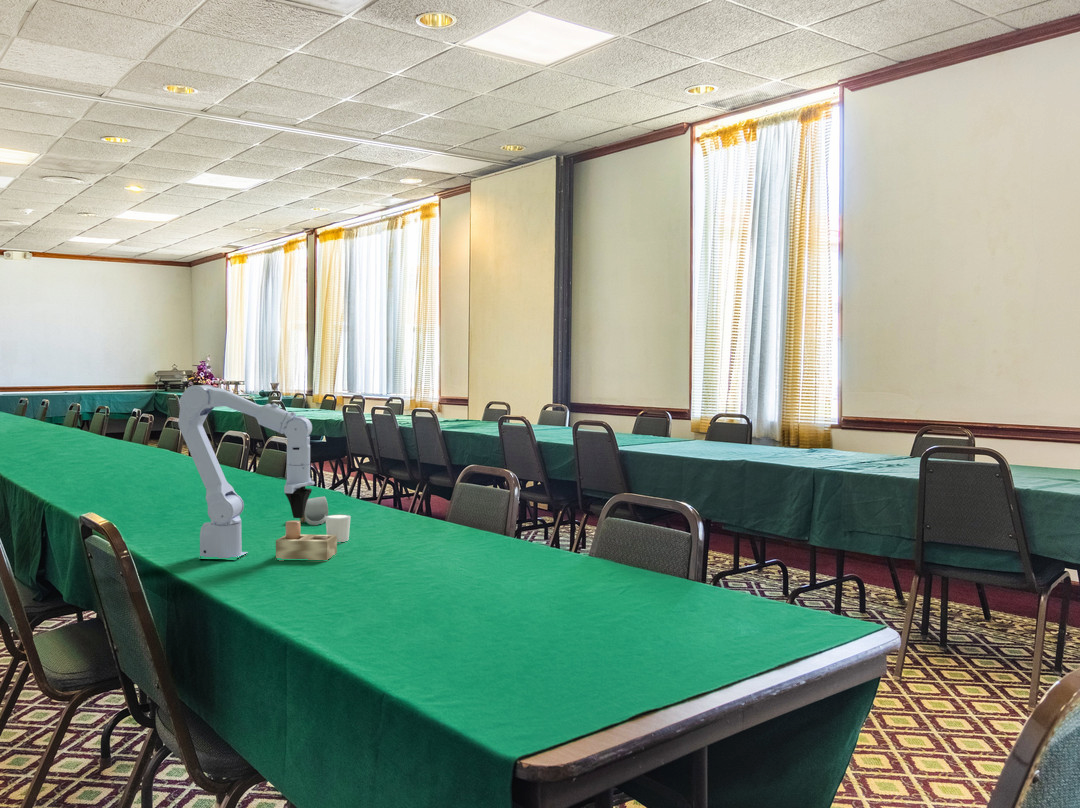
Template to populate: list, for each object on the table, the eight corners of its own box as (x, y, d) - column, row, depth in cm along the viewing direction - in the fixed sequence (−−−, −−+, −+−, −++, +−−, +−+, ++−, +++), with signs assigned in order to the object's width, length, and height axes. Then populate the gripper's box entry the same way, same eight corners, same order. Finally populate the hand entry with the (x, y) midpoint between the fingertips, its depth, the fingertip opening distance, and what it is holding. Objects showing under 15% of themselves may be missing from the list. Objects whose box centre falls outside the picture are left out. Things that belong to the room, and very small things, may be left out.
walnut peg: (311, 557, 213) (310, 538, 213) (315, 554, 217) (315, 535, 217) (325, 557, 213) (325, 538, 213) (329, 554, 217) (329, 535, 216)
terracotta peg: (283, 541, 213) (283, 522, 213) (288, 539, 217) (288, 520, 217) (297, 542, 213) (297, 523, 213) (302, 539, 217) (302, 520, 217)
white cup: (354, 539, 238) (354, 514, 238) (346, 544, 231) (346, 518, 231) (330, 538, 239) (330, 513, 238) (321, 543, 232) (321, 518, 232)
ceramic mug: (297, 520, 265) (297, 496, 265) (323, 518, 269) (323, 494, 269) (304, 527, 256) (304, 502, 255) (331, 525, 260) (331, 500, 259)
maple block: (275, 560, 212) (275, 540, 211) (287, 553, 219) (287, 534, 219) (327, 561, 211) (327, 541, 211) (336, 554, 219) (336, 535, 218)
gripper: (304, 468, 207) (304, 523, 207) (323, 461, 221) (322, 513, 222) (275, 467, 207) (275, 522, 208) (296, 460, 222) (296, 512, 222)
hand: (298, 517), depth 215 cm, fingers closed
